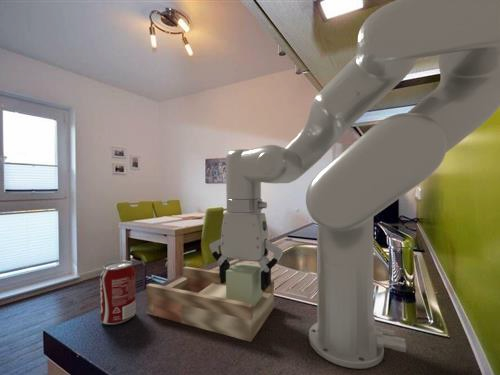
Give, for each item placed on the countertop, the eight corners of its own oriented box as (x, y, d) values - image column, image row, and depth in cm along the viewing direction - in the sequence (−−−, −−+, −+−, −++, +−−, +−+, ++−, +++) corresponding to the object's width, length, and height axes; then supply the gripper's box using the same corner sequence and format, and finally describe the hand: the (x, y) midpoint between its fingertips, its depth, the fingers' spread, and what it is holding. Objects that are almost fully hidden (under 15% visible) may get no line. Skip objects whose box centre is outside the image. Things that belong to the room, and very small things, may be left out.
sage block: (262, 296, 55) (262, 265, 55) (252, 308, 50) (252, 274, 50) (238, 292, 58) (238, 262, 58) (226, 303, 52) (226, 270, 52)
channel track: (274, 307, 58) (274, 280, 58) (250, 341, 45) (250, 307, 45) (185, 289, 69) (185, 266, 69) (146, 313, 56) (146, 285, 56)
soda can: (142, 315, 55) (141, 262, 55) (112, 331, 49) (111, 271, 49) (124, 308, 58) (123, 258, 58) (94, 321, 53) (93, 266, 53)
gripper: (286, 206, 53) (287, 284, 54) (218, 204, 60) (219, 273, 61) (276, 209, 47) (277, 299, 47) (200, 207, 54) (201, 285, 54)
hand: (244, 284), depth 54 cm, fingers open, 9 cm apart
